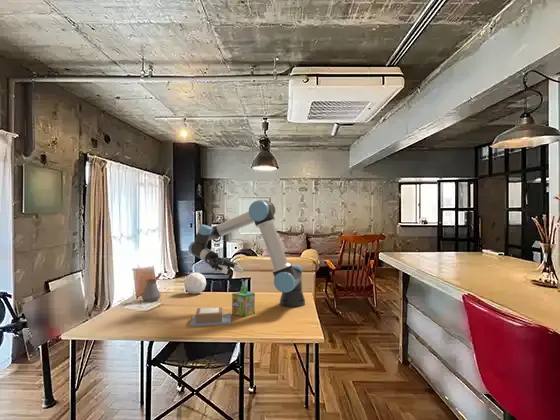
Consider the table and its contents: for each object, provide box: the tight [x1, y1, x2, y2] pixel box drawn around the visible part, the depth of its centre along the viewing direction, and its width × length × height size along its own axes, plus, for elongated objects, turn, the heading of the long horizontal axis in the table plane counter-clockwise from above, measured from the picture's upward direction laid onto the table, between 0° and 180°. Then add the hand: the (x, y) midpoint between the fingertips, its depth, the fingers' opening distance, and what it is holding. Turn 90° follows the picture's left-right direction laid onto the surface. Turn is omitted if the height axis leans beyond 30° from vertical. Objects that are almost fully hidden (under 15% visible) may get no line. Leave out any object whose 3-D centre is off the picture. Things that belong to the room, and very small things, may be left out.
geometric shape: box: [183, 271, 207, 295], centre depth 268 cm, size 14×15×15 cm
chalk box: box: [231, 286, 256, 318], centre depth 215 cm, size 9×9×15 cm
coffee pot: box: [141, 272, 163, 302], centre depth 254 cm, size 21×12×15 cm, turn 173°
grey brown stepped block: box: [189, 306, 232, 327], centre depth 203 cm, size 20×16×6 cm
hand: (234, 271), depth 221 cm, fingers open, 13 cm apart
